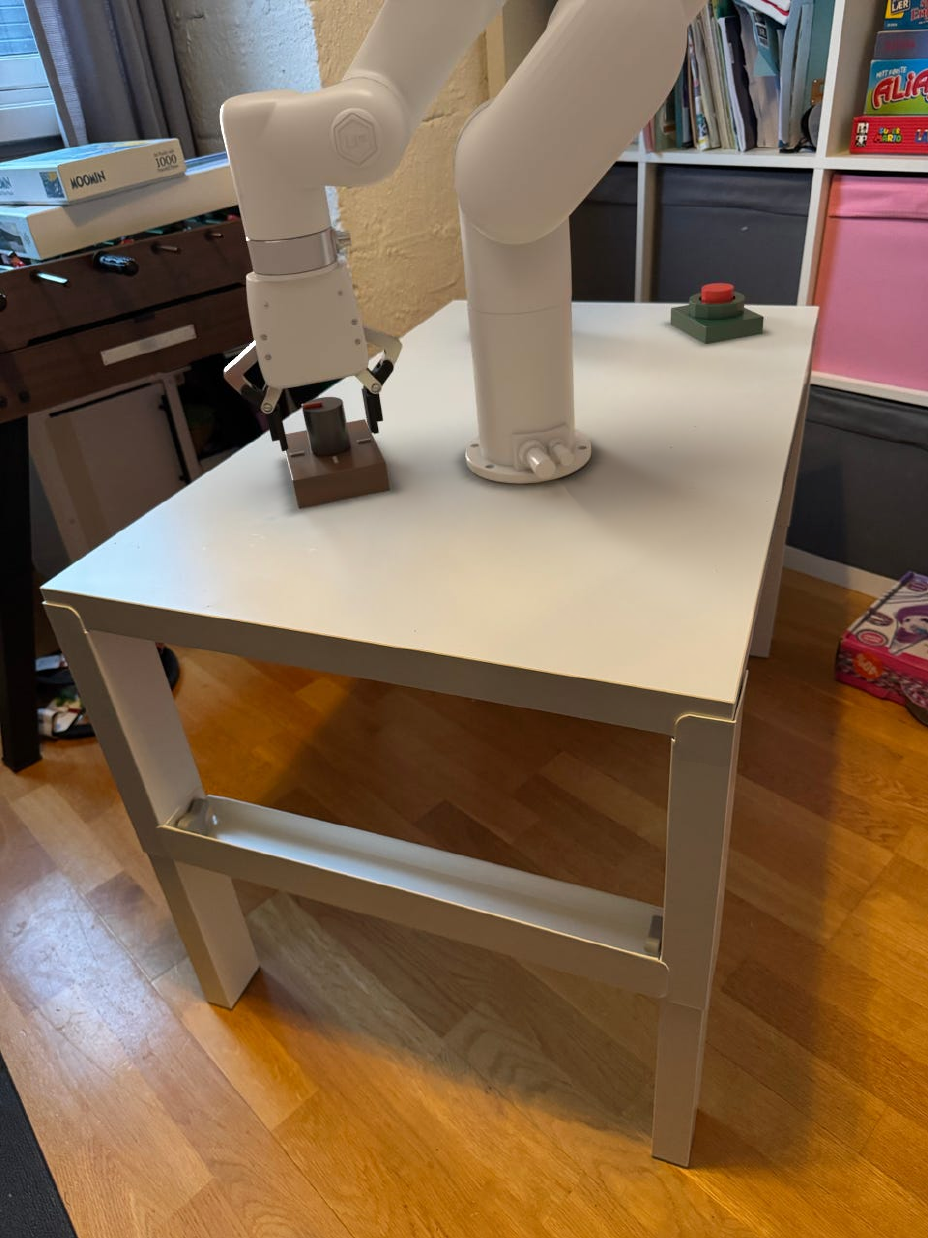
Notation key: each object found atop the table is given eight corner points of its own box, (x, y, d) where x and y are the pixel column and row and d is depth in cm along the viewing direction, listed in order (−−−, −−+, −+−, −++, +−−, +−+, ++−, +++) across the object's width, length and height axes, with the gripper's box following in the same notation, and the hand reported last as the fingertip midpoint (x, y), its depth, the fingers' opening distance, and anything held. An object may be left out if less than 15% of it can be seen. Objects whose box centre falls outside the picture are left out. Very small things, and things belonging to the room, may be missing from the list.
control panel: (390, 490, 86) (385, 460, 84) (298, 508, 84) (291, 478, 83) (369, 444, 95) (364, 417, 94) (286, 460, 94) (280, 433, 92)
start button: (738, 302, 113) (739, 287, 112) (710, 307, 112) (710, 293, 111) (723, 294, 116) (724, 281, 115) (695, 299, 116) (696, 286, 115)
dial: (347, 436, 90) (339, 390, 87) (353, 450, 87) (345, 404, 84) (308, 443, 89) (299, 398, 87) (313, 458, 86) (303, 412, 84)
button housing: (762, 333, 113) (765, 301, 111) (705, 344, 112) (707, 312, 109) (723, 314, 121) (725, 284, 119) (670, 324, 120) (671, 294, 118)
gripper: (382, 231, 82) (406, 408, 92) (193, 260, 79) (240, 440, 89) (397, 246, 76) (421, 434, 86) (193, 278, 73) (243, 469, 83)
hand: (329, 436), depth 88 cm, fingers open, 8 cm apart
